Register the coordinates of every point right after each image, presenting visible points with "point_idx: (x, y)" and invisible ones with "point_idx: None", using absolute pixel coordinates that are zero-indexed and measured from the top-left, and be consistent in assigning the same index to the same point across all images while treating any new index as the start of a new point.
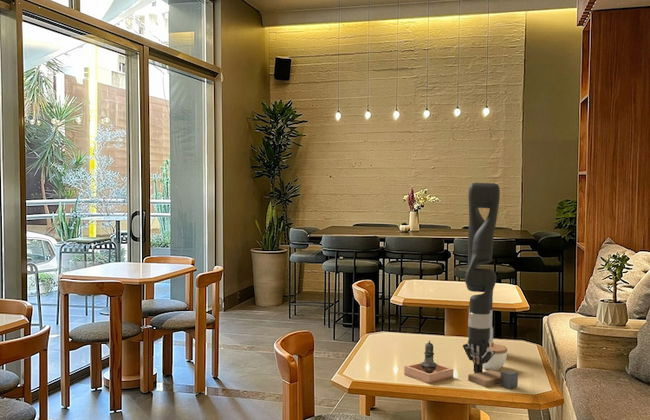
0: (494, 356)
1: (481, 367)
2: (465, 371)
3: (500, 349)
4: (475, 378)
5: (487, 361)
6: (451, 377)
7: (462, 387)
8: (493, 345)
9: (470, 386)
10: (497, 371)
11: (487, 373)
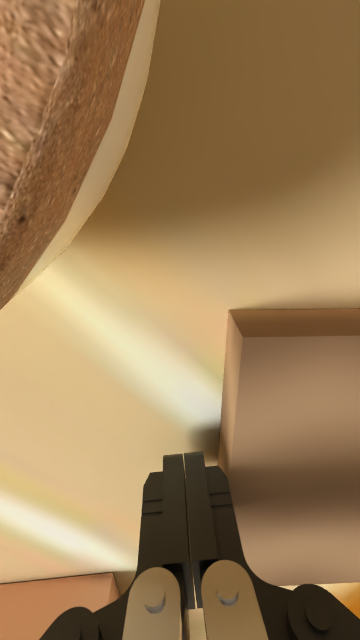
0: (87, 211)
1: (236, 535)
2: (11, 440)
3: None
4: (296, 576)
5: (356, 631)
6: (115, 584)
7: None
8: None
9: None
10: (320, 343)
11: (293, 470)
